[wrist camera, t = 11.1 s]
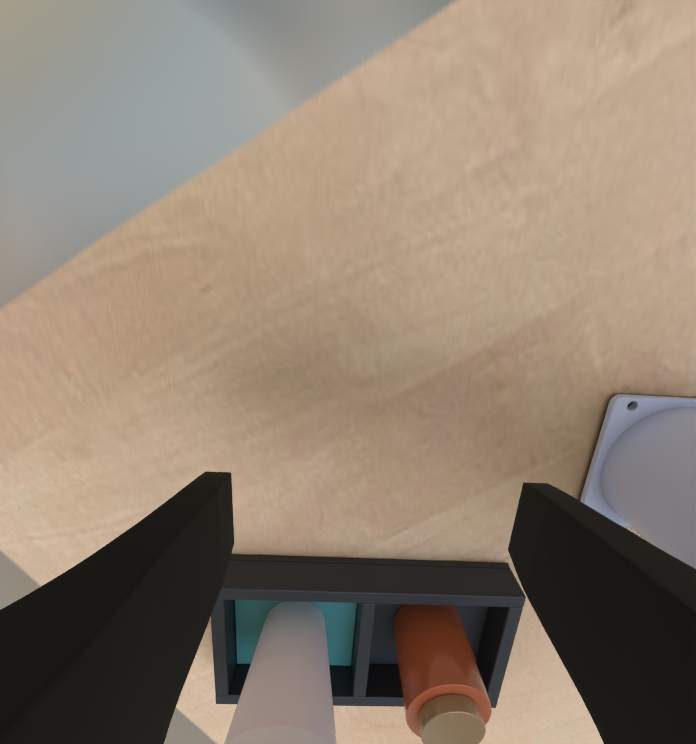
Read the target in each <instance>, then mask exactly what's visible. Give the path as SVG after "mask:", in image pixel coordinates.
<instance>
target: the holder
mask: <svg viewBox="0 0 696 744" xmlns="http://www.w3.org/2000/svg"><path fill="white" fill-rule="evenodd" d="M525 598H526V597H525V595H524V593H523V591H522V589H521V587H520V586H519V584H518V582H517V580H516V578H515V576H514V575H513V573H512V571H511V569H510V567H509V565H508V564H507V563H480V562H448V561H417V560H385V559H353V558H321V557H290V556H258V555H231V556H230V560H229V564H228V568H227V571H226V575H225V579H224V582H223V585H222V588H221V591H220V593H219V596H218V599H217V601H216V604H215V606H214V609H213V612H212V614H211V626H212V643H213V659H214V675H215V691H216V704H238V701H239V698H240V695H241V692H242V689H243V686H244V683H245V680H246V677H247V674H248V671H249V668H250V665H251V662H252V659H253V656H254V653H255V650H256V647H257V644H258V641H259V638H260V635H261V632H262V629H263V626H264V623H265V620H266V617H267V614H268V613H269V611H270V610H271V609H272V608H273V607H274V606H276V605H277V604H279V603H281V602H284V601H296V602H309V603H311V604H313V605H315V606H316V607H318V608H319V609H320V610H321V612H322V613H323V615H324V618H325V625H326V636H327V646H328V657H329V668H330V679H331V689H332V700H333V705H338V706H404V702H403V695H402V688H401V681H400V675H399V668H398V661H397V654H396V647H395V640H394V634H393V626H392V625H393V619H394V616H395V614H396V612H397V611H398V610H399V609H400V608H401V607H402V606H403V605H404V604H410V605H448V606H456V607H457V609H458V610H459V612H460V614H461V617H462V620H463V623H464V626H465V629H466V632H467V635H468V638H469V641H470V644H471V647H472V650H473V653H474V656H475V659H476V662H477V665H478V667H479V670H480V673H481V676H482V679H483V682H484V685H485V688H486V691H487V694H488V697H489V700H490V703H491V708H495V707H496V705H497V701H498V697H499V693H500V690H501V686H502V682H503V679H504V675H505V671H506V668H507V664H508V660H509V656H510V653H511V649H512V645H513V642H514V638H515V634H516V631H517V627H518V623H519V620H520V616H521V612H522V607H523V605H524V602H525Z"/></svg>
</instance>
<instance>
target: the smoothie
mask: <svg viewBox="0 0 696 744" xmlns="http://www.w3.org/2000/svg"><path fill="white" fill-rule="evenodd" d="M225 744H337V743H336V732H335V722H334V711H333V700H332V689H331V679H330V668H329V657H328V646H327V636H326V625H325V618H324V615H323V613H322V612H321V610H320V609H319V608H318V607H316V606H315V605H313V604H311V603H309V602H296V601H284V602H281V603H279V604H277V605H276V606H274V607H273V608H272V609H271V610H270V611H269V613H268V614H267V617H266V620H265V623H264V626H263V629H262V632H261V635H260V638H259V641H258V644H257V647H256V650H255V653H254V656H253V659H252V662H251V665H250V668H249V671H248V674H247V677H246V680H245V683H244V686H243V689H242V692H241V695H240V698H239V701H238V704H237V707H236V710H235V713H234V716H233V719H232V722H231V725H230V728H229V731H228V734H227V738H226V741H225Z"/></svg>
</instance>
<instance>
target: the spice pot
mask: <svg viewBox="0 0 696 744" xmlns="http://www.w3.org/2000/svg"><path fill="white" fill-rule="evenodd" d="M392 626H393V634H394V640H395V647H396V654H397V661H398V668H399V675H400V681H401V688H402V695H403V702H404V709H405V716H406V721H407V724H408V726H409V728H410V729H411V731H412V732H413V733H415V734H416V735H417V736H419V737H421V739H422V742H423V743H424V744H479V743H480V742H481V741H482V739H483V738H484V735H485V731H486V729H485V725H486V724H487V722H488V720H489V719H490V716H491V703H490V700H489V697H488V694H487V691H486V688H485V685H484V682H483V679H482V676H481V673H480V670H479V667H478V665H477V662H476V659H475V656H474V653H473V650H472V647H471V644H470V641H469V638H468V635H467V632H466V629H465V626H464V623H463V620H462V617H461V614H460V612H459V610H458V609H457V607H456V606H448V605H410V604H404V605H403V606H402V607H401V608H400V609H399V610H398V611H397V612H396V614H395V616H394V619H393V625H392Z"/></svg>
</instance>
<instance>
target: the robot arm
mask: <svg viewBox="0 0 696 744" xmlns="http://www.w3.org/2000/svg"><path fill="white" fill-rule="evenodd" d="M630 402H632V404H631V406H629V407H628V404H629V403H630ZM622 526H626V527H632V528H633V529H634V530H635V531H637V532H638V533H639V534H640V535H641V536H642V537H643V538H644V539H645V540H644V539H642V538H641V537H639V536H637V535H635V534H634V533H632V532H630V531H629V530H627V529H625V528H624V527H622ZM233 545H234V527H233V505H232V482H231V473H228V472H205V473H203V474H202V475H200V476H199V477H198V478H196V479H195V480H194V481H192V482H191V483H190V484H188V485H187V486H186V487H185V488H183V489H182V490H181V491H179V492H178V493H177V494H176V495H174V496H173V497H172V498H170V499H169V500H168V501H167V502H165V503H164V504H163V505H161V506H160V507H159V508H157V509H156V510H155V511H153V512H152V513H151V514H149V515H148V516H147V517H145V518H144V519H143V520H141V521H140V522H139V523H137V524H136V525H135V526H133V527H132V528H130V529H129V530H127V531H126V532H124V533H123V534H122V535H120V536H119V537H117V538H116V539H114V540H113V541H111V542H110V543H109V544H107V545H106V546H104V547H103V548H101V549H100V550H98V551H97V552H96V553H94V554H93V555H91V556H90V557H88V558H87V559H85V560H84V561H82V562H80V563H79V564H77V565H76V566H74V567H73V568H71V569H69V570H68V571H66V572H65V573H63V574H61V575H60V576H58V577H57V578H55V579H53V580H51V581H50V582H48V583H46V584H45V585H43V586H41V587H40V588H38V589H36V590H35V591H33V592H31V593H30V594H28V595H26V596H25V597H23V598H21V599H19V600H17V601H16V602H14V603H12V604H10V605H9V606H7V607H5V608H3V609H1V610H0V744H164V741H165V738H166V734H167V731H168V728H169V724H170V721H171V718H172V715H173V713H174V710H175V707H176V704H177V702H178V699H179V696H180V693H181V691H182V688H183V686H184V683H185V681H186V678H187V675H188V673H189V670H190V668H191V665H192V663H193V660H194V658H195V655H196V652H197V650H198V647H199V645H200V642H201V640H202V637H203V635H204V632H205V630H206V627H207V624H208V622H209V619H210V617H211V614H212V612H213V609H214V606H215V604H216V601H217V599H218V596H219V593H220V591H221V588H222V585H223V582H224V579H225V575H226V571H227V568H228V564H229V560H230V556H231V552H232V548H233ZM508 551H509V553H510V556H511V559H512V561H513V564H514V567H515V569H516V572H517V574H518V577H519V579H520V582H521V584H522V586H523V589H524V591H525V593H526V595H527V597H528V599H529V601H530V603H531V605H532V607H533V608H534V610H535V612H536V614H537V616H538V618H539V620H540V622H541V623H542V625H543V627H544V629H545V631H546V633H547V635H548V636H549V638H550V640H551V642H552V644H553V646H554V647H555V649H556V651H557V653H558V655H559V657H560V658H561V660H562V662H563V664H564V666H565V668H566V669H567V671H568V673H569V675H570V677H571V679H572V680H573V682H574V684H575V686H576V688H577V690H578V691H579V693H580V695H581V697H582V699H583V701H584V703H585V705H586V707H587V709H588V711H589V713H590V715H591V717H592V719H593V721H594V723H595V725H596V727H597V729H598V731H599V733H600V736H601V738H602V740H603V742H604V744H696V398H684V397H666V396H647V395H628V394H618V395H616V396H614V397H613V398H612V399H611V400H610V402H609V405H608V408H607V412H606V415H605V418H604V422H603V425H602V428H601V432H600V435H599V438H598V442H597V445H596V448H595V452H594V455H593V458H592V462H591V465H590V468H589V472H588V475H587V479H586V482H585V485H584V489H583V492H582V495H581V499H580V501H579V500H577V499H575V498H574V497H572V496H570V495H569V494H567V493H565V492H563V491H561V490H559V489H558V488H556V487H554V486H552V485H550V484H547V483H523V487H522V491H521V496H520V500H519V504H518V509H517V513H516V517H515V521H514V526H513V530H512V534H511V539H510V543H509V547H508Z"/></svg>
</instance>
